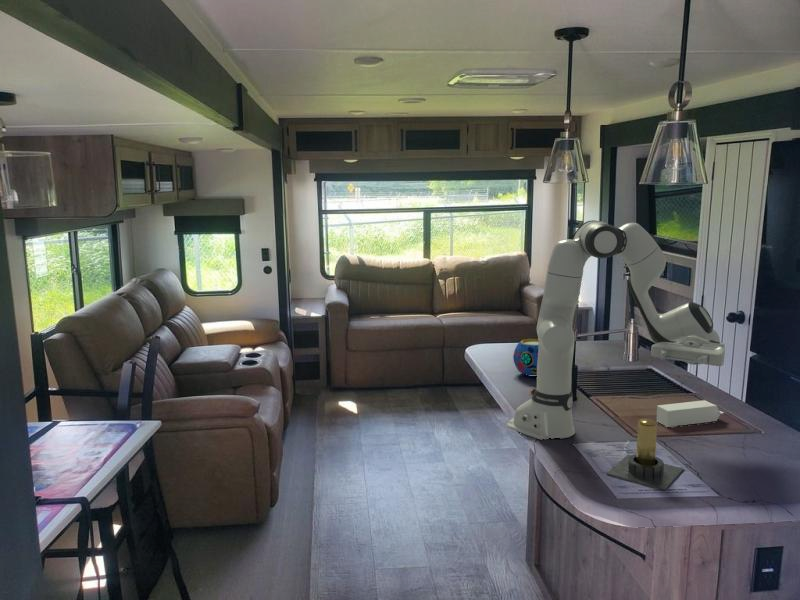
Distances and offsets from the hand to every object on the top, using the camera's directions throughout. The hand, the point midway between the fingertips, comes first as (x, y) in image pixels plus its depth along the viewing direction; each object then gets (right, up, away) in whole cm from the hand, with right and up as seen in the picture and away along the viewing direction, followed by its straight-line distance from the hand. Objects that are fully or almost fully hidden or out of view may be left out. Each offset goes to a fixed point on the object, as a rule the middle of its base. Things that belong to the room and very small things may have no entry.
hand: (679, 359), depth 186 cm
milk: (+7, -22, +30) cm, 38 cm away
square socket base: (-12, -32, -5) cm, 34 cm away
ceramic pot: (-24, -16, +91) cm, 95 cm away
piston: (-12, -31, -5) cm, 34 cm away
